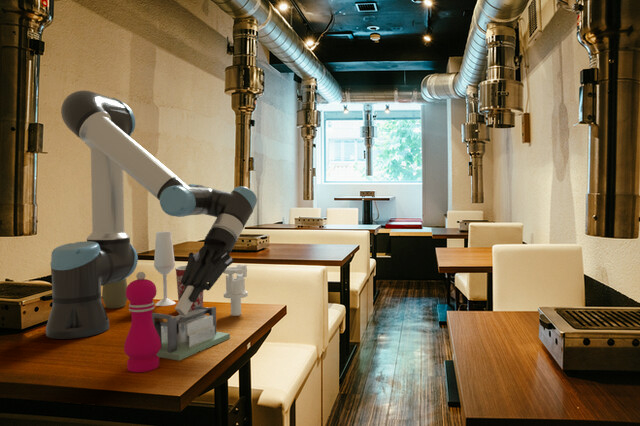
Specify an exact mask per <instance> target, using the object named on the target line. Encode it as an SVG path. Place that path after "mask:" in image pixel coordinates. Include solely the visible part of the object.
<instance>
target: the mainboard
mask: <svg viewBox="0 0 640 426" xmlns="http://www.w3.org/2000/svg"><path fill="white" fill-rule="evenodd" d="M230 338H231V333H230V332H229V333H228V332H221V331H216V334H215V338H214V339H211V340H209V341H207V342H204V343H202V344H199V345H197V346H195V347H192V348H190V349H189V348H183V347H177V350H176V351H174V352H171V353H169V352H168V345H164V344H162V348H161V349H160V350H159V352H158V353H157V354H156V355H157V356H158V357H159V358H163V359H167V360H173V361H182V360H184V359H185V358H186V359H187V358H188V357H191V356H193V355H196V354H197V352H198V353H200V352H202V351H204V350H207V349H209V348H211V347H213V345H214V346H216V345H217V344H221V343H223V342H225V341H228V340H230ZM206 348H207V349H206ZM199 351H200V352H199Z"/></svg>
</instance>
